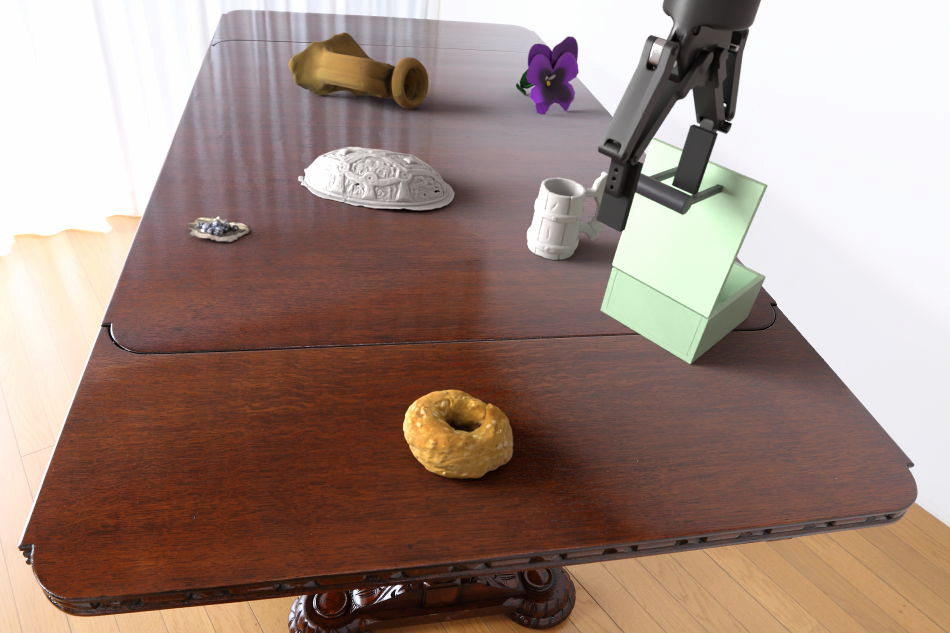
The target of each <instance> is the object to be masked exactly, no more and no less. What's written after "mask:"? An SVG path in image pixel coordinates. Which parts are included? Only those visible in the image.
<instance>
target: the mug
mask: <svg viewBox="0 0 950 633" xmlns="http://www.w3.org/2000/svg"><path fill="white" fill-rule="evenodd" d="M607 176H608V172H607V171H602V172H601V173H600V177H598V178H596V179H595V181H594V183H593V184H592V187H584V185H582V184H581V183H580V182H578V181H576V180H572V179H569V178H565V177H549V178H546V179H544V180H543V181H542V182H541V185H540V188H539V192H538V196H537V197H536V199H535V201H534V213H533V216H532V217H533V218H532V222H531V225H530V226H529V227H528V229H527V232H526V240H527V247H528V250H530V251H531V252H532V253H533V254H535V255H536V256H539V257H542V258H545V259H547V260H553V261H558V260H559V261H561V260H567V259H569V258H570V257H572V256H573V255H574V254H575V250H576V249H577V248H578V246H579V241H580V239H579V238H580V237H579V233H583V234H585V235H586V236H587V237H588V239H589V240H591V241H594V240H595V239H596V237H597V235H599V234H600V233H601V232H602V230H603V229H604V227H605V226H606V225H605V224H603V223H601V222H599V221H597V216H598V212H599V208H600V204H601V200H602V196H603V192H604V188H605V184H606V180H607ZM586 198H593V199H594V201H595V204H596V208H595V213H594V215H593V216H592V217H591V218H590V220H589V221H588V222H586V221H584V220H582V219H583V217H584V213H585V207H584V205H585V200H586Z"/></svg>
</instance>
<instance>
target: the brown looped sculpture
mask: <svg viewBox="0 0 950 633" xmlns="http://www.w3.org/2000/svg"><path fill="white" fill-rule="evenodd" d="M288 68H289V70H290V73H291V75H292V79H293V81H294V83H295V85H296V86H298V87H301V89H304V90H308V91H309V92H310V93H312V94H314V95H317V96H321V97H323V96H328V95H329V94H332V93H335V92H349V93H352V94H353V95H355V96H356V97H357V96H368V97H376V98H380V99H394V101H395V103H397V104H398V105H399V106H400V107H402V108H403V109H405V110H413V109H416V108H418V107H419V106H420V105H421V104H422V103H423V101H425V98H426V97H427V94H428V90H429V75H428V72H427V69H426V67H425V66H424V64H423V63H422V62H421V61H420V60H418V59H417V58H415V57H406V56H405V57H403V58H402V59H400V60H399V61H398V62H397V64H396V65H393V64H390V63H385V62H382V61H378V60H375V59H373V58H371V57H370V56H369V55H368V54H367V53H366V52H365V51H364V49H363V48H362V47H361V46H360V44H359V43H358V42H357V41H356V40H355V39H354V38H353V36H352V35H351V34H350V33H348V32H346V31H345V32H340V33H337V34H333V35H332V36H330V38H327V39H325V40H321V41H312V42H310V43H309V44H307V46H306V48H305V49H303V50H302V51H300V52H299V53H297V54H295V55H292V56H291V57H290V59H289V60H288Z"/></svg>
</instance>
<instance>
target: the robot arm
mask: <svg viewBox="0 0 950 633" xmlns="http://www.w3.org/2000/svg"><path fill="white" fill-rule="evenodd" d="M761 2H762V0H663V2H662V11H663V12H664V14H665V15H666V16H668V17H670V18H671V20H672V23H673V25H672V26H671V29H670V32H669V34H668V36H667V38H666V39H665V38H663V37H659V36H656V35H653V34H650V35H648V37H647V38H646V39H645V42H644V45H643V48H642V52H641V55H640V58H639V60H638V65H637V67H636V68H635V71H634V72H633V74H632V77H631V79H630V81H629V82H628V85H627V87H626V89H625V91H624V94H623V95H622V97H621V99H620V101H619V103H618V105H617V107H616V109H615V111H614V113H613V116H612V118H611V119H610V122H609V123H608V126H607V128H606V130H605V132H604V134H603V136H602V138H601V140H600V142H599V144H598V147H597V152H598V153H599V154H602V155H603V156H606V157H608V158H610V164H609V169H608V172H607V173H608V176H607V180H606V184H605V188H604V192H603V196H602V200H601V204H600V208H599V212H598V216H597V221H599V222H601V223H603V224H605V225H604V226H608V227H609V228H611V229H613V230H615V231H616V232H619V233H621V232H623V230H625V227H626V224H627V220H628V217H629V213H630V210H631V206H632V203H633V199H634V195H635V192H636V188H637V185H638V181H639V178H640V174H641V172H642V169H643V165H644V162H641V161H639V160H640V159H641V157H642V156H643V154H644V153H645V151H646V150H647V149H648V148H649V146H650V143H651V140H652V139H654V138H655V136H656V134H657V132H658V131H659V130H660V128H661V126H662V125H663V123H664V122H665V120H666V118H667V117H668V115H669V114H670V113H671V111H672V109H673V108H674V106H675V105H676V103H677V102H678V101H680V100H684V99H685V98H686V97H687V96H688V94H689V93H690V91H692V96H693V105H694V112H695V119H696V123H697V124H699V125H697V124H691V125H689V129H688V132H687V135H686V138H685V141H684V144H683V148H682V149H683V151H682V154H681V157H680V160H679V163H678V167H677V170H676V173H675V176H674V179H673V183H672V186H674V187H677V188H679V189H681V190H683V191H686V192H688V193H690V194H692V195H693V194H696V193H698V191H699V188H700V185H701V182H702V179H703V176H704V173H705V170H706V168H707V165H708V162H709V161H710V158H711V156H712V153H713V150H714V147H715V144H716V141H717V139H718V136H719V132H720V133H722V134H724V135H727V134H728V133H729V132H730V131H731V128H732V126H733V123H732V122H731V121H733V119H734V118H735V116H736V110H737V105H738V104H737V103H738V96H739V87H740V81H741V80H740V79H741V72H742V64H743V56H744V51H745V48H746V44H747V40H748V38H749V34H750V28H751V27H752V26H753V24H754V23H755V19H756V17H757V14H758V11H759V8H760V5H761Z"/></svg>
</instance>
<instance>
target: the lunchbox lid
mask: <svg viewBox="0 0 950 633" xmlns="http://www.w3.org/2000/svg"><path fill="white" fill-rule="evenodd" d="M682 151H683V148H680V147H679V146H676V145H673V144H671V143H668V142H665V141H664V140H661V139H659V138H657V137H653V139H652V140H651V142H650V143H649V145H648V150H647V153H646V156H645V160H644V162H643V167H642V171H641V174H640V178H639V181H638V185H637V188H636V192H635V195H634V199H633V203H632V206H631V210H630V213H629V217H628V220H627V224H626V227H625V230H623V231H621V232H622V233H621V235H620V237H619V241H618V245H617V248H616V250H615V254H614V257H613V261H612V266H613V267H614V266H615V267H617V268H618V269H620V270H622V271H624V272H626V273H627V274H629V275H631V276H633V277H635V278H637V279H638V280H640V281H642V282H644V283H646V284H647V285H649V286H651V287H653V288H655V289H656V290H658V291H660V292H662V293H664V294H665V295H667V296H669V297H671V298H673V299H675V300H676V301H678V302H680V303H682V304H684V305H685V306H687V307H689V308H691V309H693V310H694V311H696V312H698V313H700V314H702V315H704V316H705V317H707V318H709V317H710V316H711V315H712V313H713V311H714V308H715V306H716V304H717V301H718V299H719V297H720V295H721V292H722V290H723V288H724V285H725V283H726V281H727V278H728V276H729V274H730V271H731V269H732V267H733V265H734V262H735V261H736V260H737V257H738V255H739V253H740V251H741V249H742V246H743V244H744V241H745V239H746V237H747V235H748V232H749V230H750V227H751V225H752V223H753V221H754V218H755V215H756V213H757V211H758V210H759V207H760V205H761V202H762V200H763V198H764V195H765V193H766V192H767V191H766V190H767V189H768V186H769V185H768V184H767V183H764V182H761V181H759V180H757V179H754V178H752V177H750V176H747V175H744V174H743V173H740V172H738V171H735V170H733V169H730V168H728V167H725V166H723V165H721V164H719V163H716V162H714V161H712V160H709V162H708V165H707V168H706V170H705V173H704V176H703V179H702V182H701V185H700V188H699V191H698V193H696V194H693V195H692V194H690V193H688V192H686V191H683V190H681V189H679V188H677V187H674V186H672V183H673V179H674V176H675V173H676V170H677V167H678V163H679V160H680V157H681V154H682Z"/></svg>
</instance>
